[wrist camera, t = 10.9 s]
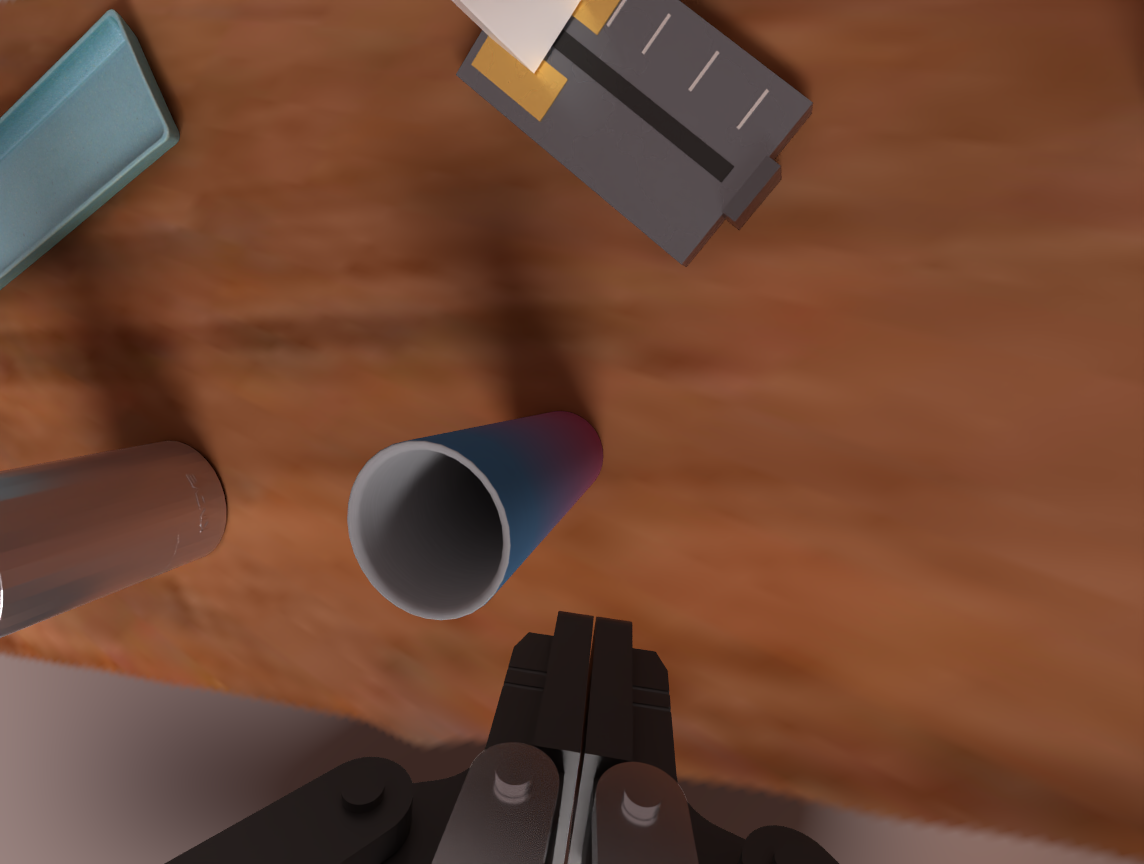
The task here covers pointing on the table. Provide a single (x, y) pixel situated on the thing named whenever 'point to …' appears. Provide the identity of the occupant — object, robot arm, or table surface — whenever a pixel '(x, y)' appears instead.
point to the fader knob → (521, 24)
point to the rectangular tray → (77, 141)
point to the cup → (466, 508)
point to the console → (650, 115)
